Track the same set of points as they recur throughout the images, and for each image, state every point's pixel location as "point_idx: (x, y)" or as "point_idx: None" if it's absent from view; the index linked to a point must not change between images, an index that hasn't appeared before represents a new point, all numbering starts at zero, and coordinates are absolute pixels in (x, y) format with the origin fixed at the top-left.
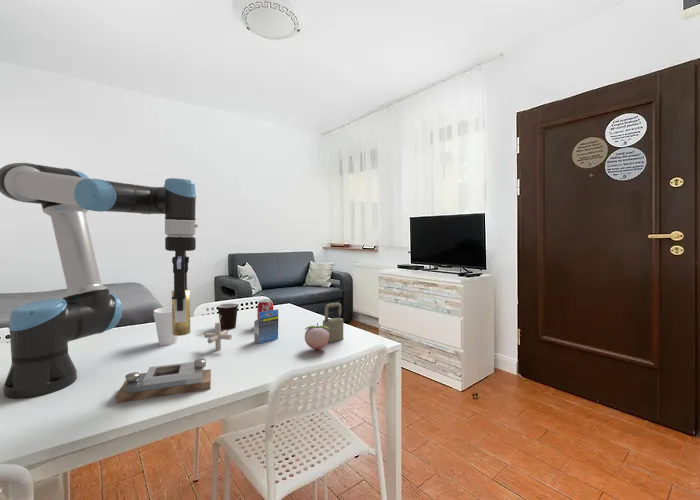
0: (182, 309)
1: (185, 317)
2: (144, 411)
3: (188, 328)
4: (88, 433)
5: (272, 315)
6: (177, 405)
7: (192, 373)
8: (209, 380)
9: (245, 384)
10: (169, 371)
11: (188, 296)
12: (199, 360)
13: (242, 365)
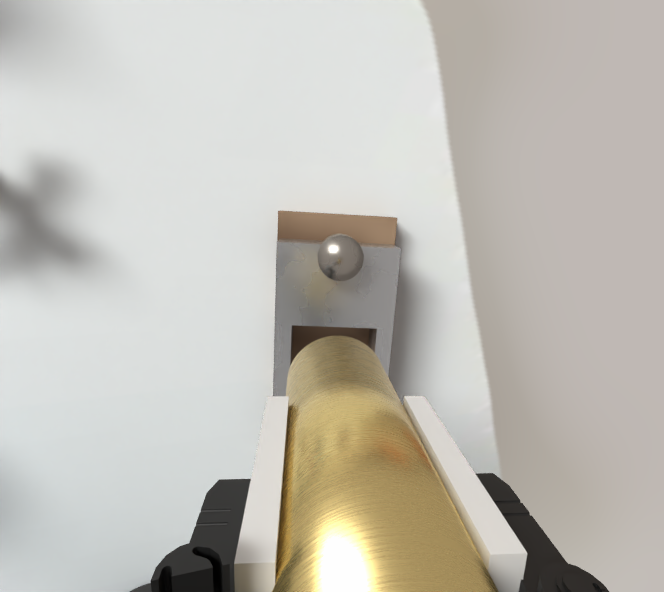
0: (506, 485)
1: (434, 415)
2: (451, 384)
3: (371, 356)
4: (496, 474)
5: None
6: (458, 308)
7: (397, 282)
8: (384, 219)
9: (410, 92)
10: (291, 355)
11: (450, 537)
12: (335, 260)
13: (218, 75)
